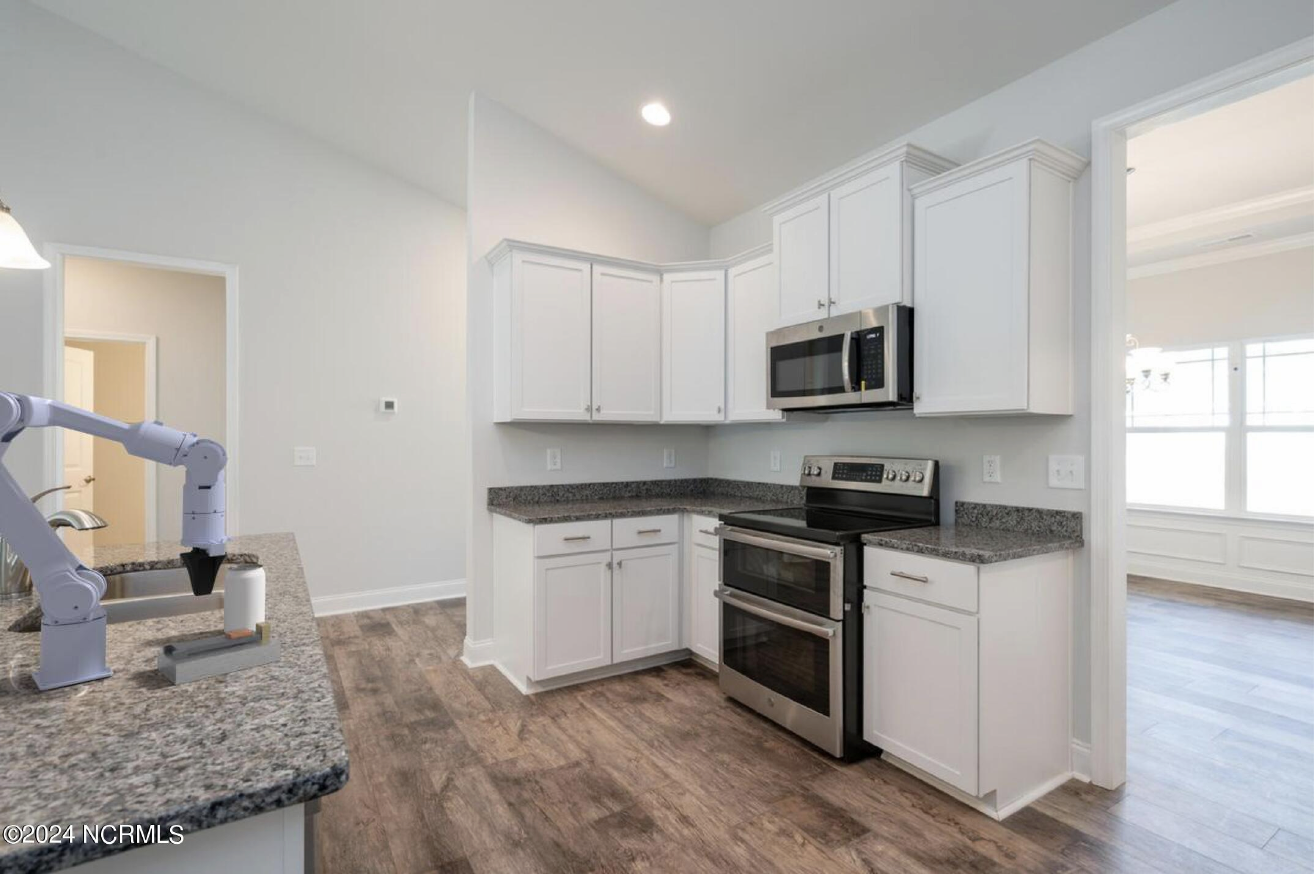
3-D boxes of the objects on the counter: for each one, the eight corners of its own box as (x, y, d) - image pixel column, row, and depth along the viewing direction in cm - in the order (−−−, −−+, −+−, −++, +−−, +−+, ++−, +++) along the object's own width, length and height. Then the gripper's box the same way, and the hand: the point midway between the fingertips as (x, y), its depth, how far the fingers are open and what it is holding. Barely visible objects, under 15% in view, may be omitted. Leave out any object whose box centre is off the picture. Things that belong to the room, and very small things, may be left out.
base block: (157, 669, 98) (158, 635, 98) (258, 647, 109) (258, 617, 109) (175, 685, 91) (176, 649, 91) (280, 660, 102) (281, 628, 102)
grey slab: (171, 649, 97) (171, 640, 97) (251, 634, 105) (251, 626, 105) (178, 655, 94) (178, 646, 94) (260, 639, 103) (260, 630, 103)
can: (249, 635, 115) (251, 570, 115) (215, 635, 115) (216, 569, 115) (272, 625, 122) (273, 563, 122) (239, 625, 122) (240, 563, 122)
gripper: (247, 513, 102) (246, 597, 102) (218, 507, 111) (216, 583, 111) (195, 517, 96) (193, 605, 96) (168, 510, 106) (167, 590, 105)
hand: (202, 594), depth 103 cm, fingers closed
